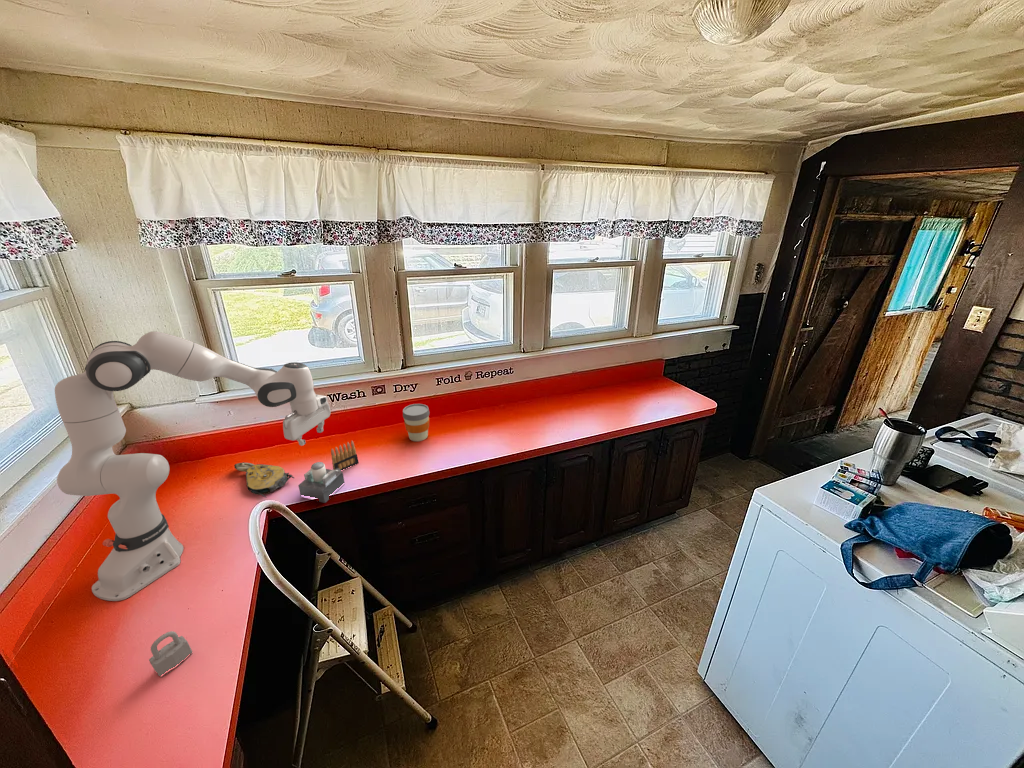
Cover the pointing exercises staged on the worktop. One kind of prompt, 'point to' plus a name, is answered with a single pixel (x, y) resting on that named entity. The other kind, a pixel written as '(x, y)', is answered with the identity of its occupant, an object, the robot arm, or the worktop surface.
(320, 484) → the motor
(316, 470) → the white domed cylinder
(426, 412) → the reusable coffee cup
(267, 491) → the pulley block
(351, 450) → the ammunition clip
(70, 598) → the worktop surface
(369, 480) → the worktop surface
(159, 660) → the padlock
